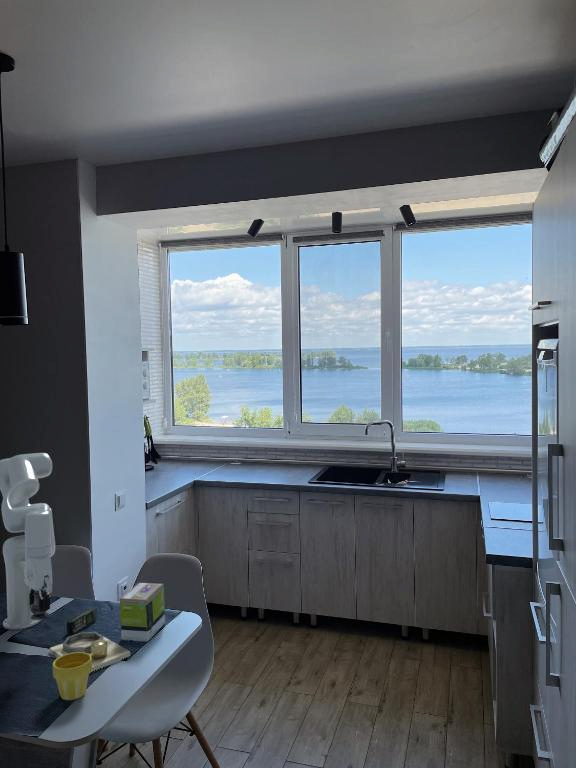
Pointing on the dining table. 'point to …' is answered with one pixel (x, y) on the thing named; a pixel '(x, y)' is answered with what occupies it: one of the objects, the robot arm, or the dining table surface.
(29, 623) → the robot arm
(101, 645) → the brass post
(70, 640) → the ring holder
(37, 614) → the grey knobbed cylinder
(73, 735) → the dining table surface
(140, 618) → the tea box
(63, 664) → the plant pot
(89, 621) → the mobile phone
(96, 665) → the birch board
